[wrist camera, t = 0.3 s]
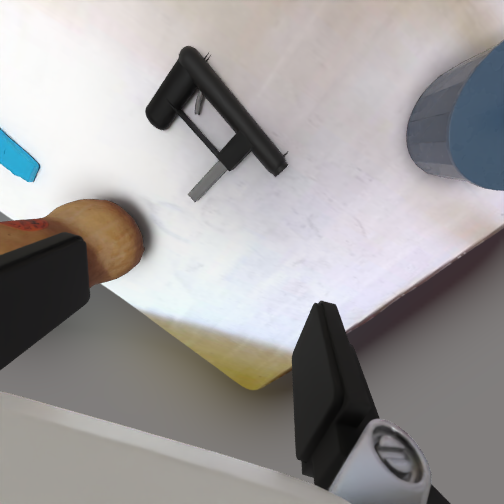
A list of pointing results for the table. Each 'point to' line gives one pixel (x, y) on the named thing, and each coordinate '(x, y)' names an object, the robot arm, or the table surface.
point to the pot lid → (480, 124)
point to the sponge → (17, 159)
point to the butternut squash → (85, 235)
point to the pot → (437, 120)
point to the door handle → (212, 87)
